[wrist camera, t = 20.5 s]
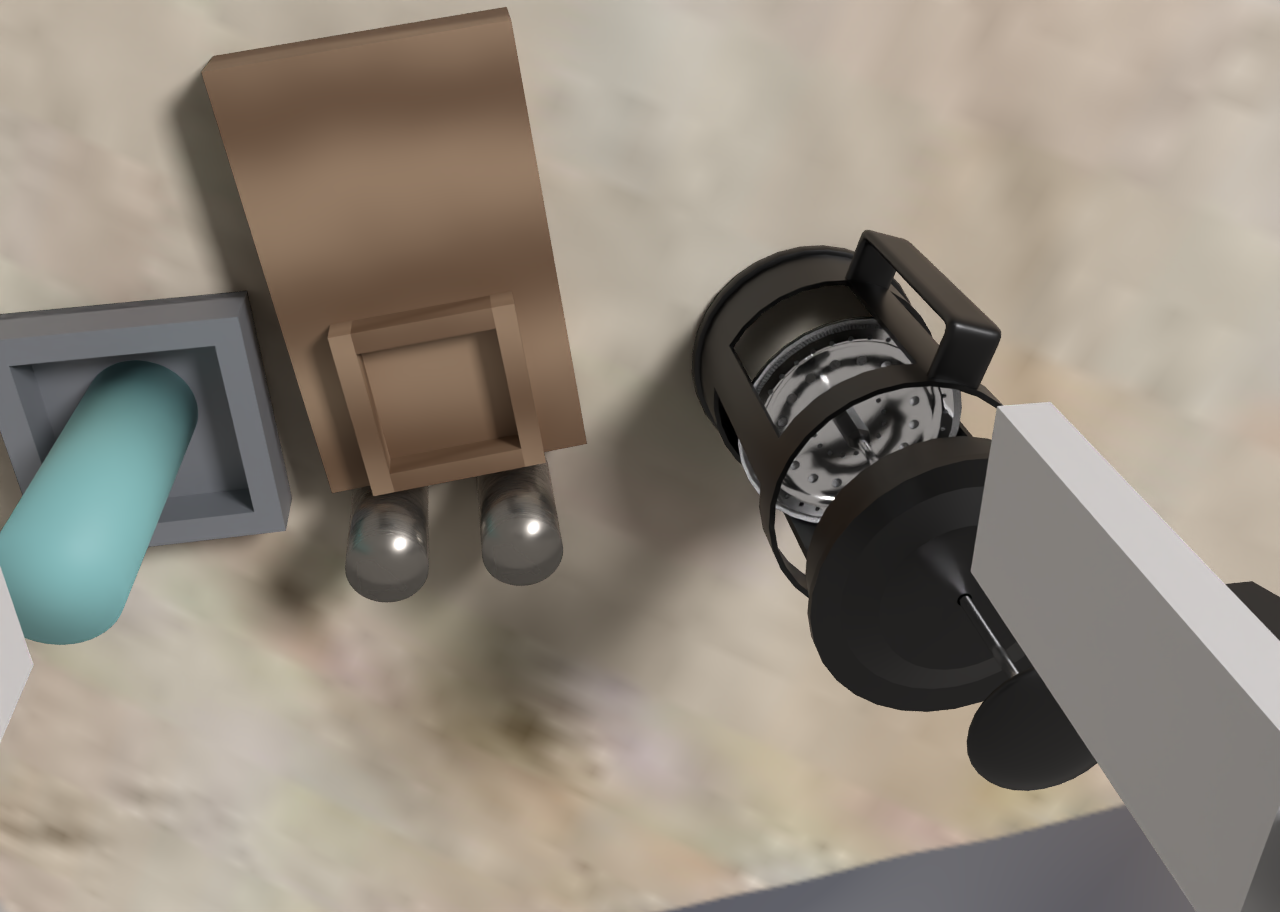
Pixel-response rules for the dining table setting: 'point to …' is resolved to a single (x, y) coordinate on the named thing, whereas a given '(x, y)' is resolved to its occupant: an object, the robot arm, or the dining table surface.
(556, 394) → the brown flat block
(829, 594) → the french press
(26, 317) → the tray
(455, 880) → the dining table surface
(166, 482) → the dowel
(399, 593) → the bench dogs
